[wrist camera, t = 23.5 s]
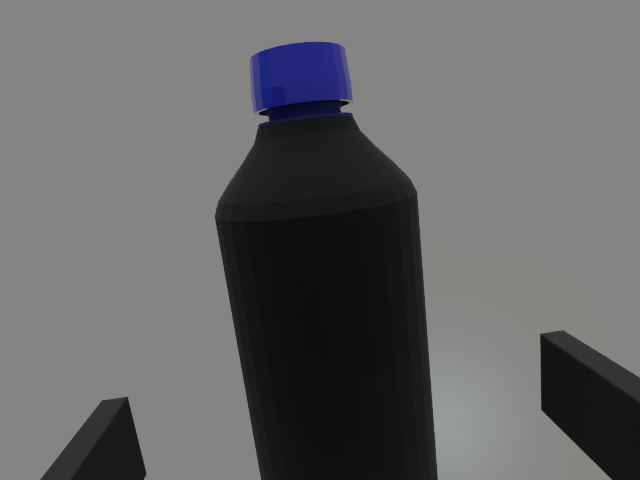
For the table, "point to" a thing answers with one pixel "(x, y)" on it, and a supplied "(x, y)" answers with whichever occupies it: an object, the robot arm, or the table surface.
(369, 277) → the bottle
